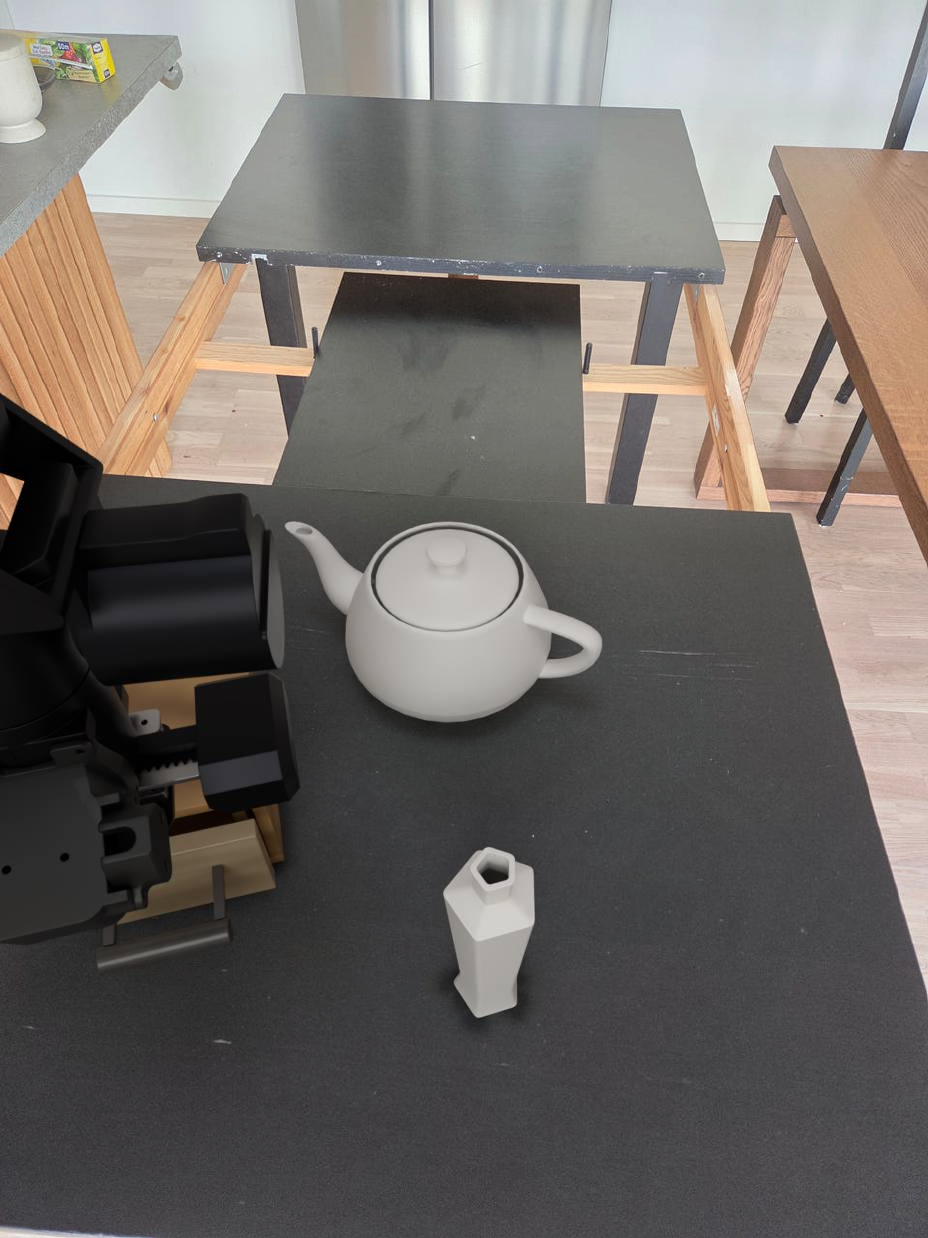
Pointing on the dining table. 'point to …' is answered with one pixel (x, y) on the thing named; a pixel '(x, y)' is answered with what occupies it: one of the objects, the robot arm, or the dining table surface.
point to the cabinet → (180, 712)
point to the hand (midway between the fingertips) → (134, 859)
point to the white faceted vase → (490, 928)
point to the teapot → (447, 621)
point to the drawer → (196, 888)
